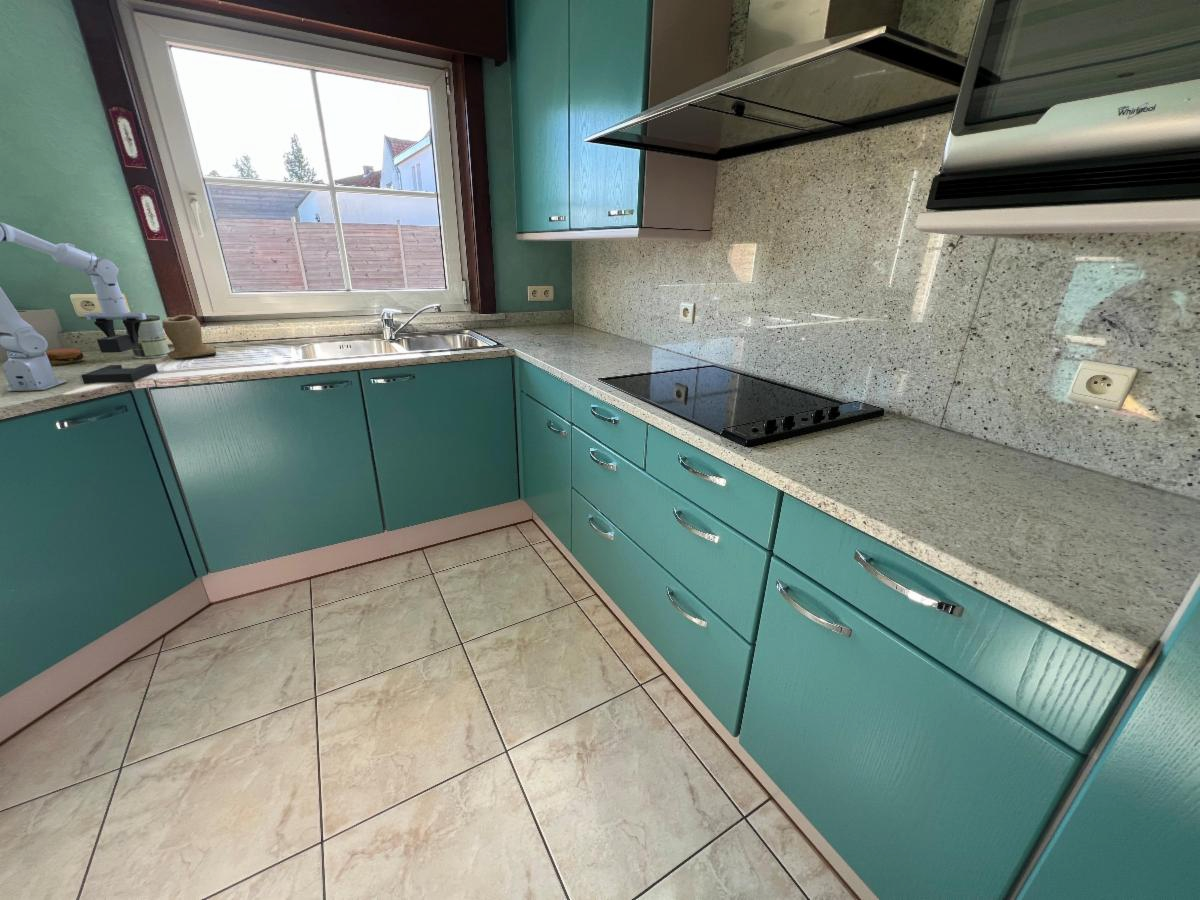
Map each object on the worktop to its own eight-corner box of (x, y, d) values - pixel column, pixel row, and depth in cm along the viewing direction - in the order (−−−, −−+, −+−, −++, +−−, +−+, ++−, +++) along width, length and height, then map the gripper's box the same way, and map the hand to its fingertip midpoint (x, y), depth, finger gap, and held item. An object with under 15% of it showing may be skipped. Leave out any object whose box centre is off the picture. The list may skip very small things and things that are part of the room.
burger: (37, 366, 162) (31, 351, 160) (57, 360, 170) (51, 347, 169) (74, 365, 165) (69, 351, 163) (92, 359, 173) (87, 346, 171)
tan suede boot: (173, 362, 172) (160, 318, 167) (165, 357, 180) (153, 315, 174) (225, 356, 183) (214, 315, 178) (215, 352, 190) (205, 312, 185)
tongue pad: (121, 352, 151) (116, 338, 150) (101, 352, 150) (96, 339, 148) (139, 346, 160) (135, 333, 159) (120, 346, 159) (116, 334, 157)
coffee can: (128, 359, 175) (114, 318, 170) (143, 353, 184) (131, 315, 179) (163, 358, 178) (150, 318, 173) (176, 352, 187) (165, 315, 182)
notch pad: (133, 381, 147) (130, 373, 146) (83, 383, 144) (80, 375, 143) (158, 371, 160) (155, 363, 159) (113, 372, 157) (110, 365, 156)
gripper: (145, 297, 158) (158, 340, 163) (90, 297, 154) (105, 341, 159) (133, 299, 151) (147, 343, 157) (74, 299, 148) (91, 344, 153)
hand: (125, 342), depth 157 cm, fingers closed on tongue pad, 5 cm apart
